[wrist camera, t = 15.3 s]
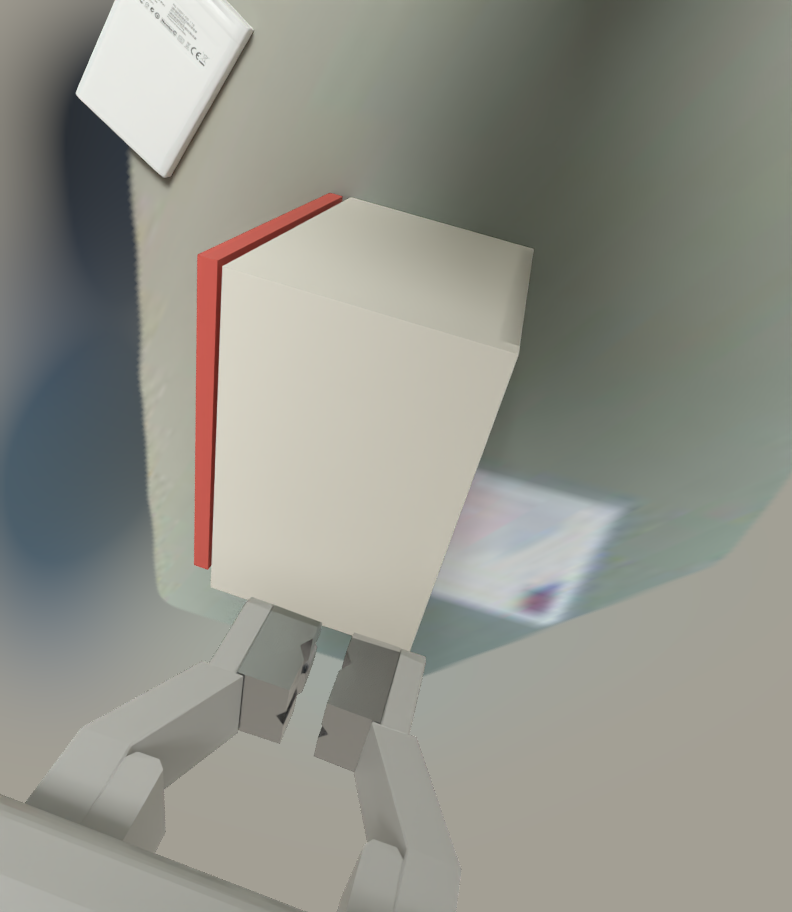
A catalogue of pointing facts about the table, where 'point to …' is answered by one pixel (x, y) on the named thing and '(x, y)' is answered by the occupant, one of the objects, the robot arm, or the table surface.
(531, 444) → the table surface
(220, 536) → the cabinet
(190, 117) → the external hard drive
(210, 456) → the door
